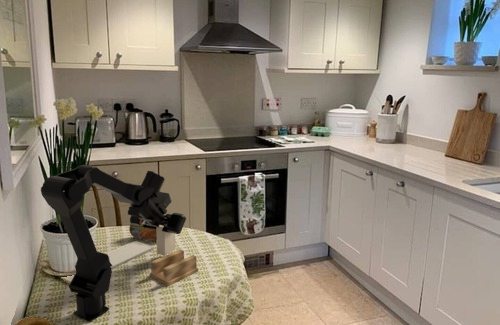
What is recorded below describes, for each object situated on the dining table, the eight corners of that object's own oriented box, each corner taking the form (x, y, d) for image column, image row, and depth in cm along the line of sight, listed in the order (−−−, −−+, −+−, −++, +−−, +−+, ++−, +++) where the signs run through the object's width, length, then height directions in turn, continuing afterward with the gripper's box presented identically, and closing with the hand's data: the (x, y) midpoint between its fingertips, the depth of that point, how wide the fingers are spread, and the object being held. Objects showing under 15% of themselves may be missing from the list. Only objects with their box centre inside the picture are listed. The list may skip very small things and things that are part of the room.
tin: (129, 239, 151) (128, 218, 149) (132, 236, 154) (131, 215, 152) (169, 241, 150) (168, 220, 149) (170, 237, 154) (170, 216, 152)
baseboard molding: (52, 276, 124) (75, 288, 118) (51, 268, 124) (74, 279, 117) (131, 242, 150) (153, 251, 143) (130, 235, 149) (153, 243, 143)
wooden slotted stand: (168, 286, 119) (167, 270, 118) (150, 275, 125) (149, 261, 124) (197, 271, 128) (197, 257, 127) (179, 262, 134) (179, 248, 133)
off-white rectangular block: (165, 255, 133) (164, 227, 130) (157, 253, 134) (156, 225, 132) (175, 248, 138) (174, 221, 136) (167, 246, 139) (166, 220, 137)
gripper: (182, 191, 124) (200, 213, 136) (133, 183, 131) (155, 205, 143) (168, 223, 118) (188, 243, 131) (118, 213, 125) (141, 233, 138)
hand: (168, 230), depth 136 cm, fingers closed on off-white rectangular block, 3 cm apart
